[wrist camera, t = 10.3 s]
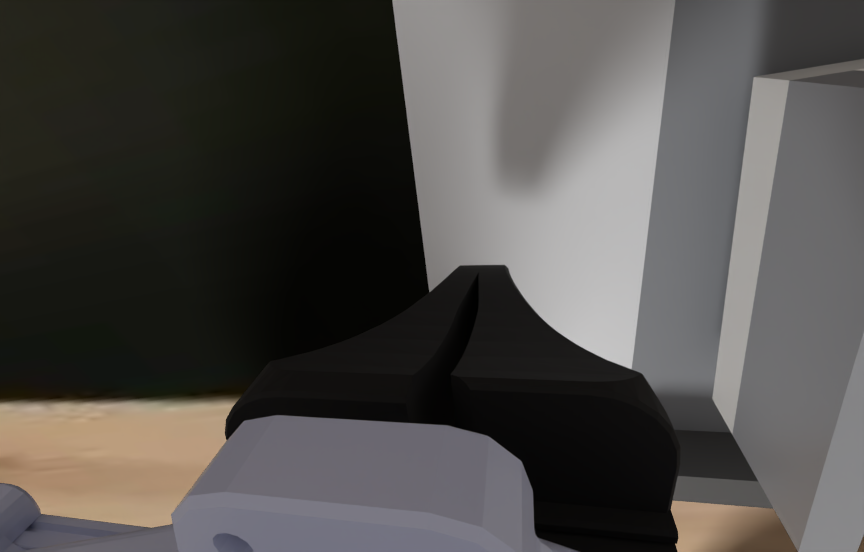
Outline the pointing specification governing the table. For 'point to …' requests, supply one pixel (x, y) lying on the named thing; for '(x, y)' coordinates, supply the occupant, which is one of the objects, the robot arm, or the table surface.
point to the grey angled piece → (800, 304)
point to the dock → (607, 172)
